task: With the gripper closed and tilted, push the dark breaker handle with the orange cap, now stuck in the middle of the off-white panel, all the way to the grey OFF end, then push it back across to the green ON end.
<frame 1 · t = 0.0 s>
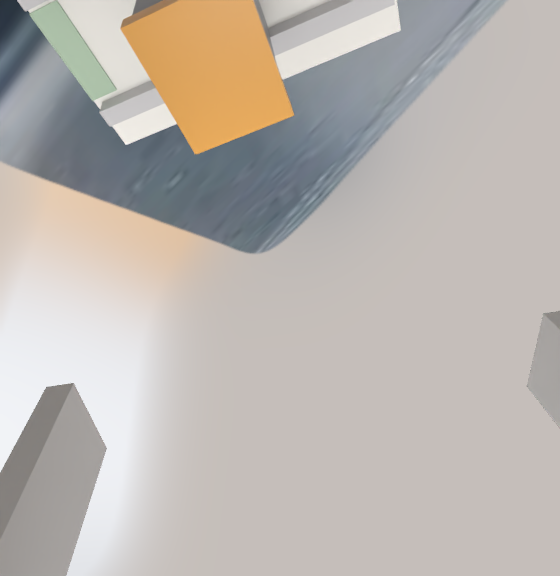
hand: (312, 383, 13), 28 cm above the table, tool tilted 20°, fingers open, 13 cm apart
breaker handle: (213, 26, 24), point 8 cm above the table, slide at 0.0 cm
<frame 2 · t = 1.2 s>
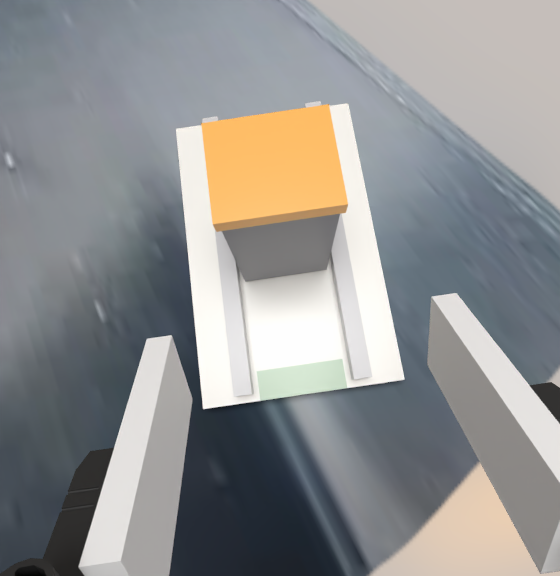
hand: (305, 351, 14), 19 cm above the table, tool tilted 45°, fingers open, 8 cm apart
breaker panel: (281, 250, 34), on the table
breaker handle: (277, 211, 27), point 8 cm above the table, slide at 0.0 cm
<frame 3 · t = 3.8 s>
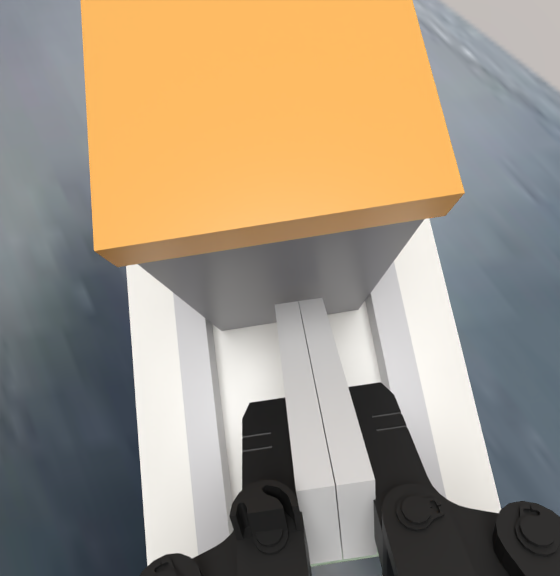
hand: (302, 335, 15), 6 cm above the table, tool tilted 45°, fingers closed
breaker panel: (285, 295, 21), on the table
breaker handle: (274, 213, 14), point 8 cm above the table, slide at -1.0 cm, touching gripper
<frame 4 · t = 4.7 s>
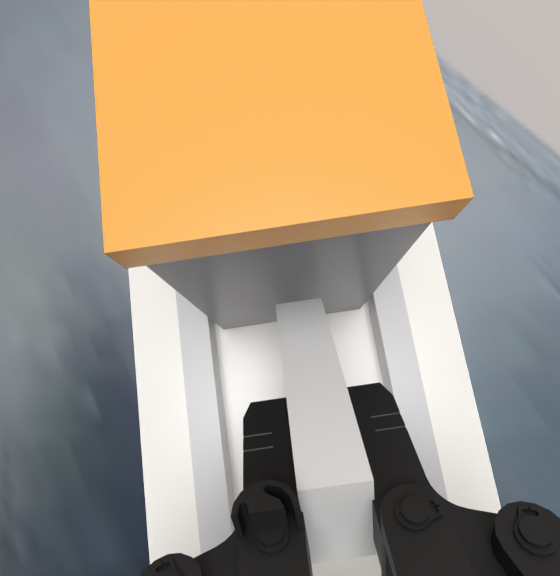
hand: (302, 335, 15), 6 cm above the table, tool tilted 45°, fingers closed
breaker panel: (304, 404, 20), on the table
breaker handle: (278, 212, 14), point 8 cm above the table, slide at -6.2 cm, touching gripper
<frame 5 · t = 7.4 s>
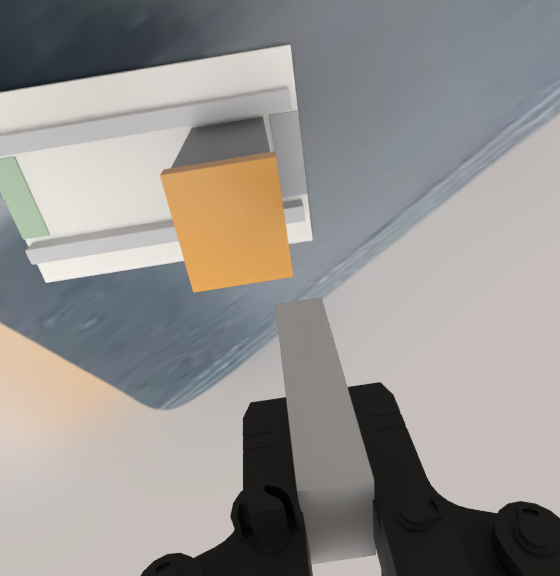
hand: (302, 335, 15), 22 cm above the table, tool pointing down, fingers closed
breaker panel: (157, 171, 33), on the table
breaker handle: (233, 191, 27), point 8 cm above the table, slide at -6.0 cm
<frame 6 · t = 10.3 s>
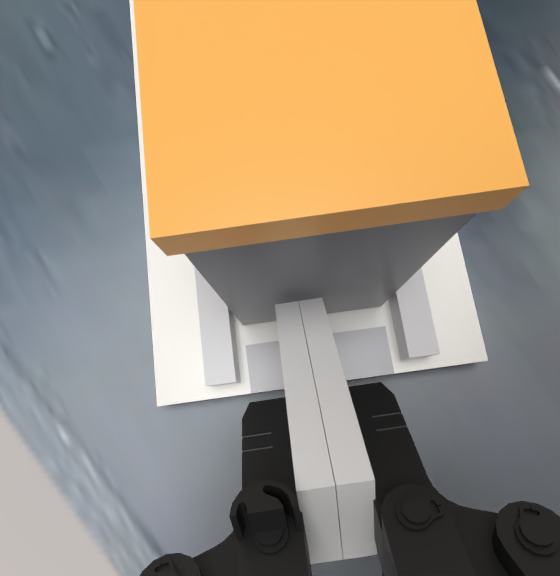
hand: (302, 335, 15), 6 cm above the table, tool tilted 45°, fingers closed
breaker panel: (287, 164, 22), on the table
breaker handle: (307, 206, 14), point 8 cm above the table, slide at -5.6 cm, touching gripper
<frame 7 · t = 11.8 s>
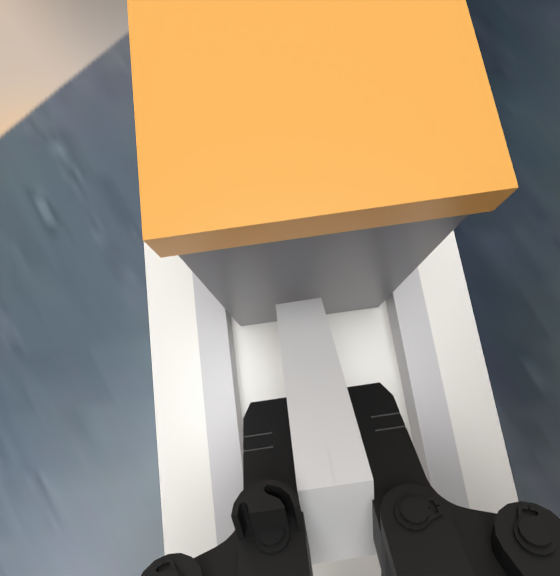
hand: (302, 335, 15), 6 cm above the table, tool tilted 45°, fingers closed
breaker panel: (315, 371, 20), on the table
breaker handle: (302, 207, 14), point 8 cm above the table, slide at 4.8 cm, touching gripper
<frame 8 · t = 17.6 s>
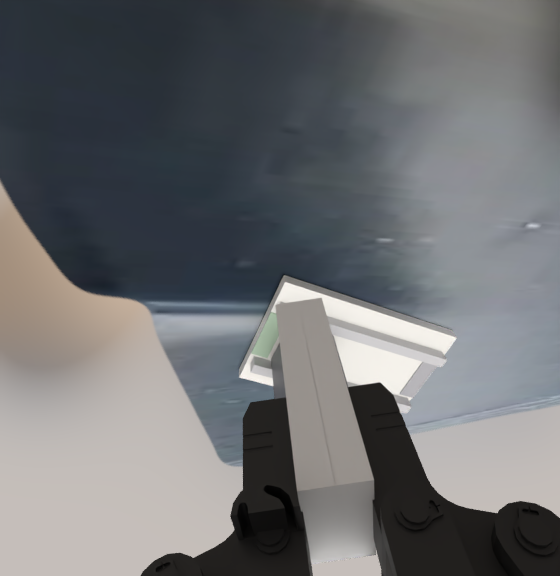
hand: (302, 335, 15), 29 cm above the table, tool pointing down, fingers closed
breaker panel: (344, 349, 53), on the table
breaker handle: (307, 381, 45), point 8 cm above the table, slide at 6.0 cm
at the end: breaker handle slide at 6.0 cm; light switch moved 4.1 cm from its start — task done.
